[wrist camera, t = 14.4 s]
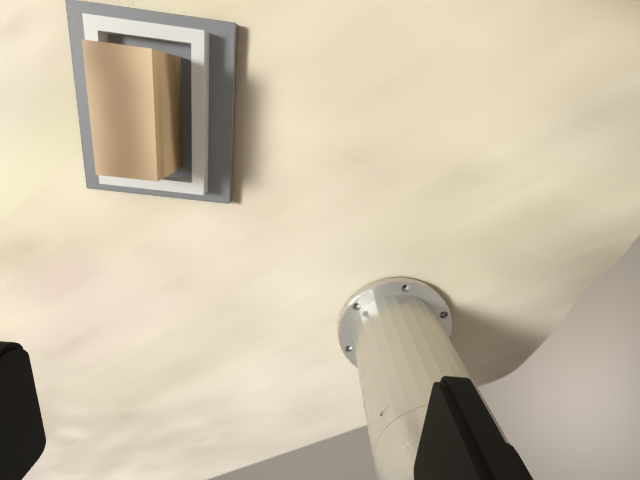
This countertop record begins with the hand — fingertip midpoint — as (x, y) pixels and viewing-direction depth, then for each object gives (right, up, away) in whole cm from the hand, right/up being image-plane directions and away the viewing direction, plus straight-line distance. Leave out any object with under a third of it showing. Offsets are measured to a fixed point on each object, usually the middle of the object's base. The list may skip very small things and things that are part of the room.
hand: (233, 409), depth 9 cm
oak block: (-12, +15, +23) cm, 30 cm away
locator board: (-12, +15, +24) cm, 31 cm away
